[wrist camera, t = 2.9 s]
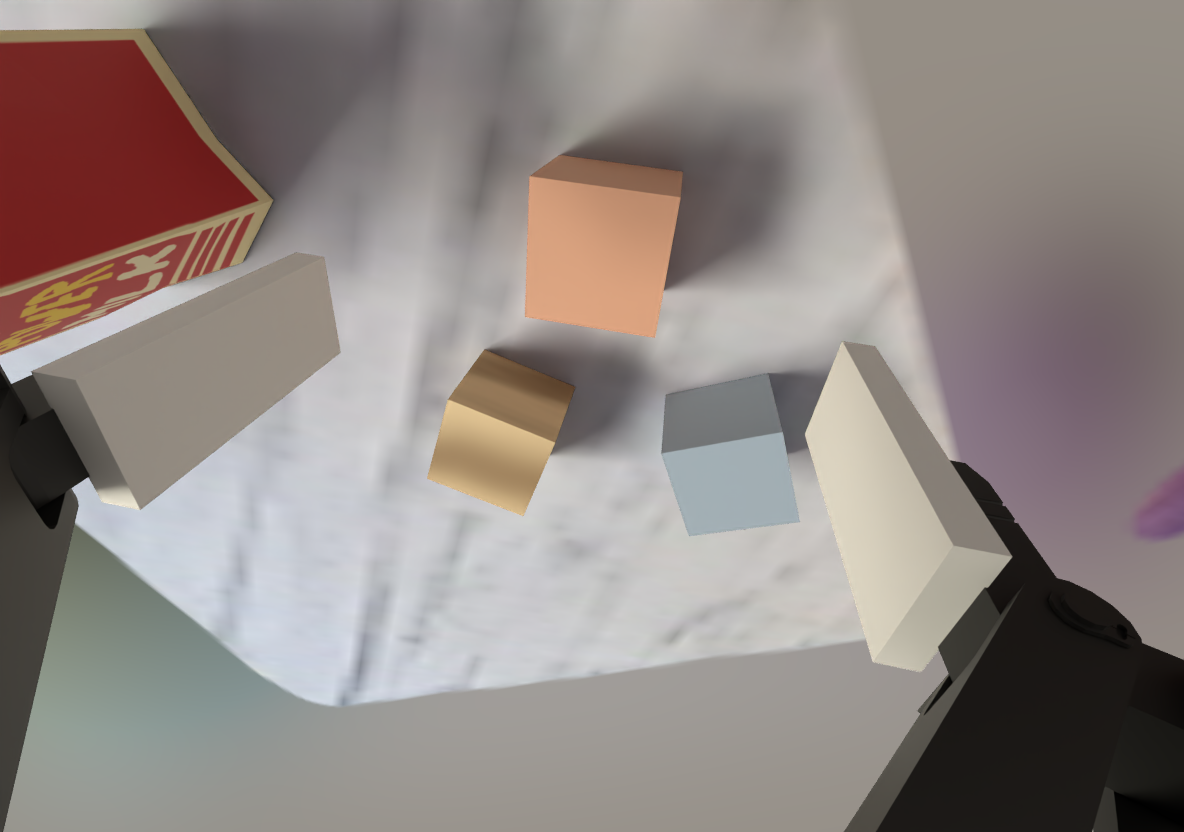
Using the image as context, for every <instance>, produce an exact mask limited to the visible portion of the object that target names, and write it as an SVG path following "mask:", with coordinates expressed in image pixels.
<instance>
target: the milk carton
mask: <svg viewBox="0 0 1184 832" xmlns="http://www.w3.org/2000/svg"><path fill="white" fill-rule="evenodd" d="M272 202H273V199H272V198H271V197H270V196H269V195H268V194H267V193H266V192H265V191H264V190H263V189H262V188H261V186H260V185H259V184H258V183H257V182H256V181H255V180H254V179H253V178H252V177H251V176H250V175H249V173H248V172H247V171H246V170H245V169H244V168H243V167H242V166H241V165H240V164H239V163H238V162H237V161H236V159H235V158H234V157H233V156H232V155H231V154H230V153H229V152H228V151H227V150H226V149H225V148H224V147H223V145H222V144H221V143H220V142H219V141H218V140H217V139H216V137H215V136H214V134H213V133H212V131H211V130H210V128H209V127H208V125H207V124H206V122H205V121H204V119H203V118H202V116H201V115H200V113H199V112H198V110H197V109H196V107H195V106H194V104H193V103H192V101H191V100H190V98H189V97H188V95H187V94H186V92H185V91H184V89H183V88H182V86H181V85H180V83H179V82H178V80H177V79H176V77H175V76H174V74H173V73H172V71H171V70H170V68H169V67H168V65H167V64H166V62H165V61H164V59H163V58H162V56H161V55H160V53H159V52H158V50H157V49H156V47H155V46H154V44H153V43H152V41H151V40H150V38H149V37H148V35H147V34H146V32H145V31H144V29H86V30H0V355H3V354H6V353H8V352H11V351H14V350H16V349H19V348H22V347H24V346H27V345H30V344H32V343H35V342H38V341H40V340H43V339H46V338H48V337H51V336H54V335H56V334H59V333H62V332H64V331H67V330H70V329H72V328H75V327H78V326H80V325H83V324H86V323H88V322H91V321H94V320H96V319H99V318H101V317H104V316H106V315H108V314H110V313H112V312H114V311H116V310H118V309H120V308H122V307H124V306H126V305H129V304H131V303H133V302H135V301H137V300H139V299H141V298H143V297H145V296H147V295H149V294H151V293H154V292H156V291H158V290H160V289H162V288H165V287H168V286H171V285H174V284H177V283H180V282H183V281H187V280H190V279H193V278H196V277H199V276H202V275H205V274H208V273H212V272H215V271H218V270H221V269H224V268H227V267H230V266H234V265H237V264H240V263H242V262H243V260H244V258H245V256H246V254H247V252H248V250H249V248H250V246H251V244H252V242H253V240H254V238H255V236H256V234H257V232H258V230H259V228H260V226H261V224H262V222H263V220H264V218H265V216H266V214H267V212H268V210H269V208H270V206H271V204H272Z"/></svg>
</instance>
